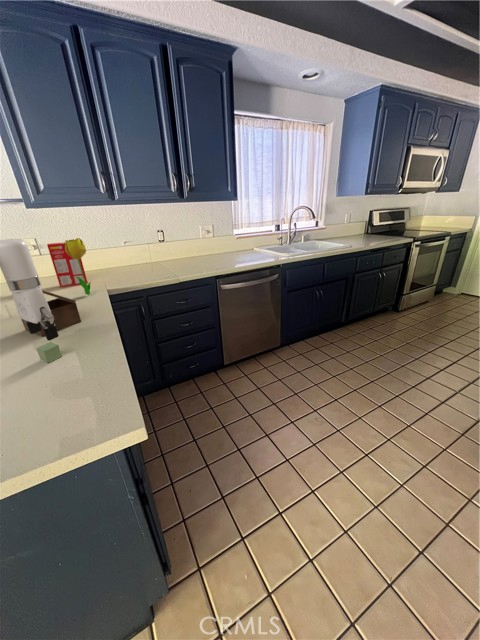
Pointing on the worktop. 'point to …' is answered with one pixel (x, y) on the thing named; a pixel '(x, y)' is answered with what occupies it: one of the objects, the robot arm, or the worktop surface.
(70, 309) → the chest
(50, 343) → the block
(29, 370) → the worktop surface
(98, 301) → the worktop surface
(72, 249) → the flower
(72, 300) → the lid
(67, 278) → the food packaging
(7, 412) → the worktop surface
